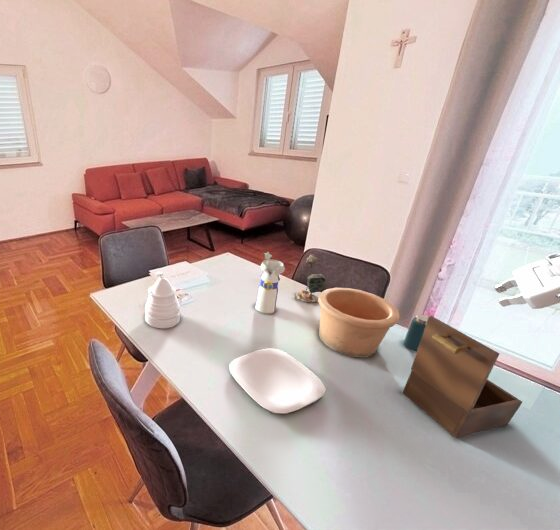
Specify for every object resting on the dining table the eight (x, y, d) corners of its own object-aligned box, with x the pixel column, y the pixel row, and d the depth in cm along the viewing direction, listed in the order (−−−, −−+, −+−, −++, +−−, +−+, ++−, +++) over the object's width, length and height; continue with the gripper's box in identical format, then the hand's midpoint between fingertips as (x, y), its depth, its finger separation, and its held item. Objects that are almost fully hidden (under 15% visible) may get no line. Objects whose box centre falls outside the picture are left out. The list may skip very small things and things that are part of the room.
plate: (272, 425, 75) (273, 420, 74) (219, 367, 92) (220, 363, 92) (335, 395, 83) (336, 390, 82) (275, 347, 101) (276, 342, 100)
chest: (448, 383, 87) (459, 361, 84) (507, 425, 75) (522, 401, 71) (402, 392, 84) (411, 370, 81) (455, 438, 72) (469, 413, 68)
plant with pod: (322, 307, 123) (333, 260, 115) (291, 299, 129) (300, 254, 120) (324, 298, 129) (335, 253, 121) (295, 291, 135) (304, 248, 127)
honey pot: (138, 315, 118) (137, 272, 111) (167, 305, 124) (167, 264, 117) (157, 332, 108) (156, 286, 101) (186, 321, 114) (188, 277, 107)
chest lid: (431, 315, 73) (415, 319, 73) (499, 353, 61) (481, 358, 61) (413, 368, 80) (398, 372, 80) (471, 411, 68) (455, 416, 68)
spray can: (411, 340, 104) (423, 312, 100) (427, 350, 99) (439, 321, 95) (399, 342, 103) (410, 314, 99) (413, 352, 98) (425, 323, 94)
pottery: (311, 316, 117) (319, 282, 111) (380, 331, 109) (392, 295, 103) (309, 351, 99) (318, 312, 93) (391, 372, 91) (408, 331, 85)
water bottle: (275, 316, 117) (287, 254, 107) (252, 311, 120) (261, 251, 110) (278, 305, 124) (289, 247, 114) (256, 301, 127) (264, 243, 117)
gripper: (597, 302, 67) (511, 323, 77) (570, 270, 81) (501, 291, 91) (576, 277, 68) (494, 301, 78) (553, 250, 82) (486, 274, 92)
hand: (497, 296), depth 85 cm, fingers open, 8 cm apart
